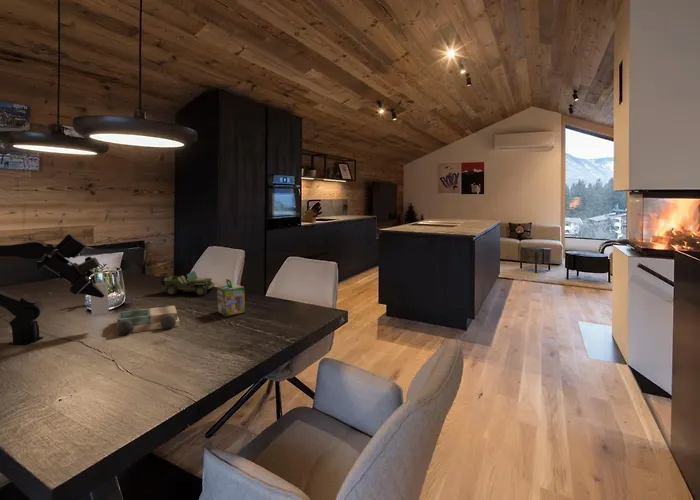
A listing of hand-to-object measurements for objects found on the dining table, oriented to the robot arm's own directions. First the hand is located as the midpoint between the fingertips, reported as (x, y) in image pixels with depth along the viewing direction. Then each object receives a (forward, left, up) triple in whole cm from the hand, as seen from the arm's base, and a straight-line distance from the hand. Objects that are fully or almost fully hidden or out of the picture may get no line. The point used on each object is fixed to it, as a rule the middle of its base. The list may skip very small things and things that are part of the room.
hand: (103, 295), depth 136 cm
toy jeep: (+58, -1, -14) cm, 60 cm away
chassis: (+8, -11, -13) cm, 19 cm away
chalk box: (+28, -36, -14) cm, 48 cm away
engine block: (-1, +1, -7) cm, 7 cm away
